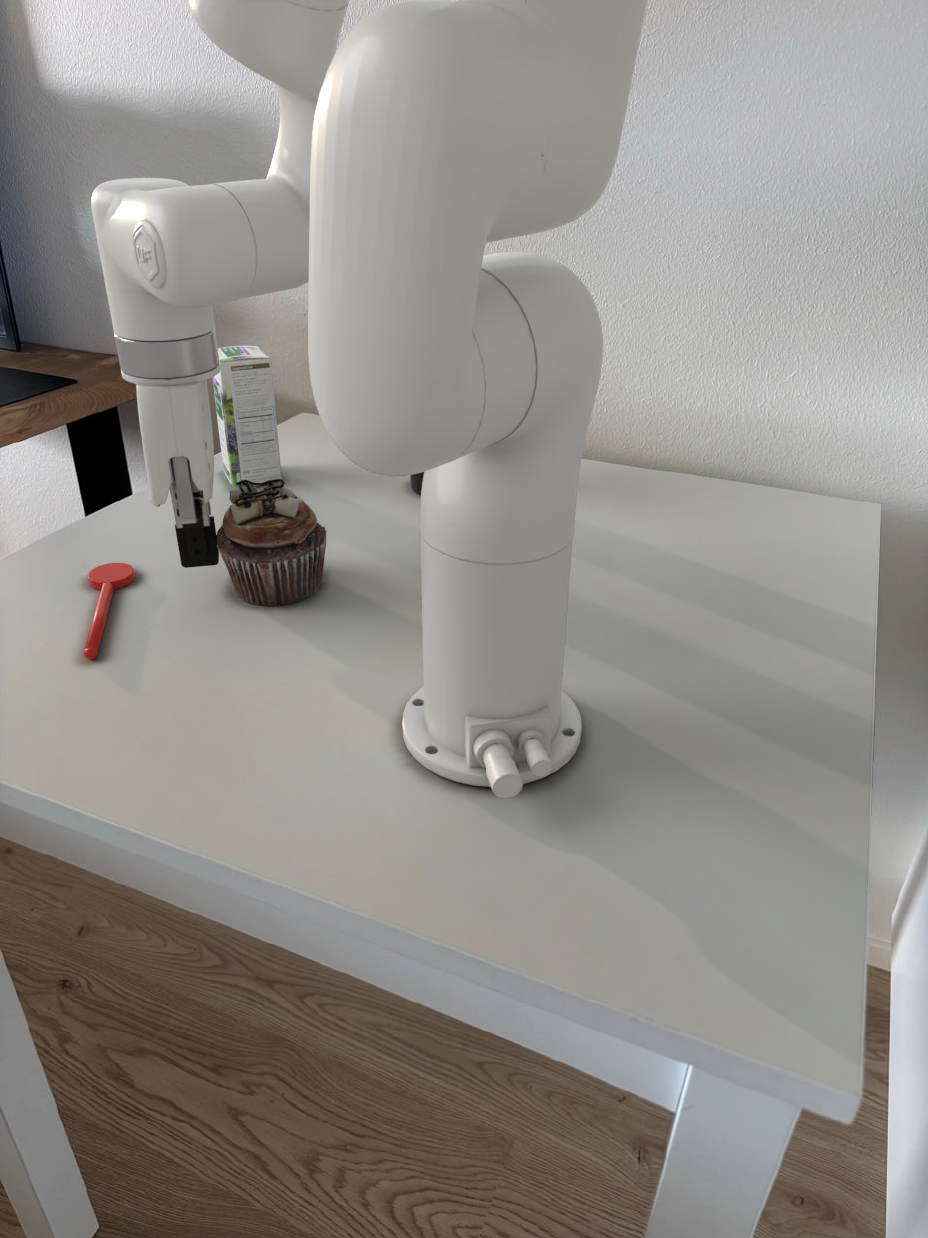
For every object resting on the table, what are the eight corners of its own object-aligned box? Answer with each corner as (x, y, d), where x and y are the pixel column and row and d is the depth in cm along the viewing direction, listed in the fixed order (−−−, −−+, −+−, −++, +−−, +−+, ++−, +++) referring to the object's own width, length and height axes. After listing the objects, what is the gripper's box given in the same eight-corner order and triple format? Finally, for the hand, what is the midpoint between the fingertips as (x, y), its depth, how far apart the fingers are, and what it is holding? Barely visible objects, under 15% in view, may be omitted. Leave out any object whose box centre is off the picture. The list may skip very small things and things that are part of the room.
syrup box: (222, 473, 106) (205, 348, 99) (272, 465, 108) (259, 342, 101) (233, 490, 102) (216, 360, 94) (285, 482, 104) (272, 354, 97)
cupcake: (344, 598, 80) (336, 493, 75) (234, 620, 77) (219, 512, 72) (315, 554, 88) (307, 456, 83) (214, 572, 85) (199, 471, 80)
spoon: (117, 658, 72) (115, 648, 71) (64, 664, 71) (61, 653, 71) (137, 568, 85) (135, 558, 85) (92, 572, 85) (90, 562, 84)
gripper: (127, 332, 76) (162, 530, 86) (107, 383, 64) (150, 608, 73) (219, 329, 78) (243, 523, 87) (216, 378, 65) (245, 599, 75)
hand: (200, 561), depth 80 cm, fingers closed
